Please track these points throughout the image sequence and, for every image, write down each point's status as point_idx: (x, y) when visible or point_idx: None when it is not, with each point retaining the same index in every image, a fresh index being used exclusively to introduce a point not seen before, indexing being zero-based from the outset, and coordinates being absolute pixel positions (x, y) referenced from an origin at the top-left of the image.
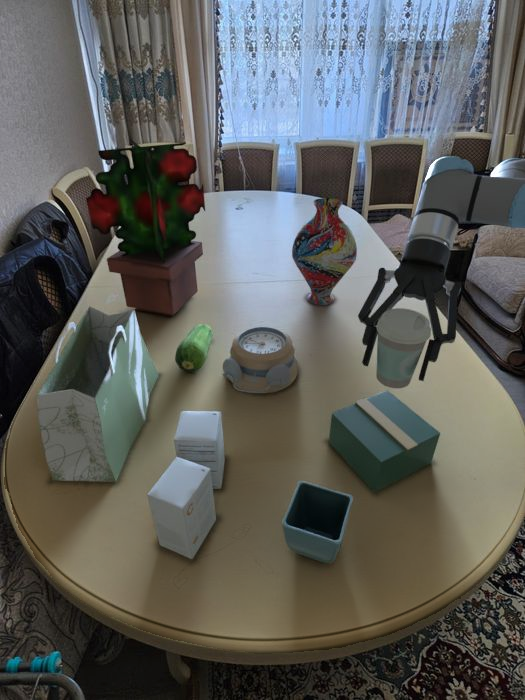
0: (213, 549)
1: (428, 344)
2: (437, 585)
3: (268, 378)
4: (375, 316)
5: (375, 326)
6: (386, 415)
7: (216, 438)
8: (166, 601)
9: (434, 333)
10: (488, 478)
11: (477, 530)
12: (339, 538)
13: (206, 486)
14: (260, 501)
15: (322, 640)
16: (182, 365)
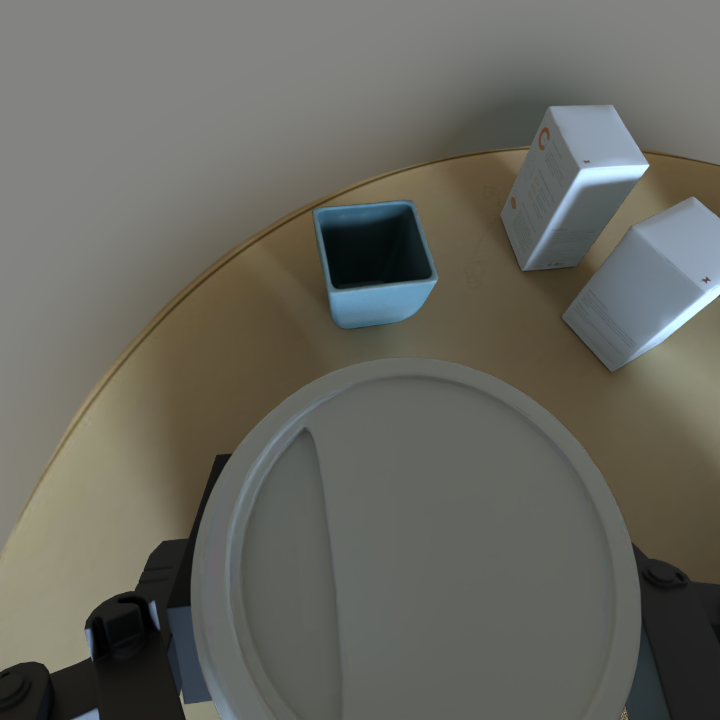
0: (487, 237)
1: None
2: (163, 333)
3: None
4: (676, 622)
5: None
6: None
7: (637, 233)
8: (484, 171)
9: (165, 660)
10: (50, 658)
11: (91, 472)
12: (317, 215)
13: (560, 177)
14: (488, 329)
15: (297, 210)
16: None
